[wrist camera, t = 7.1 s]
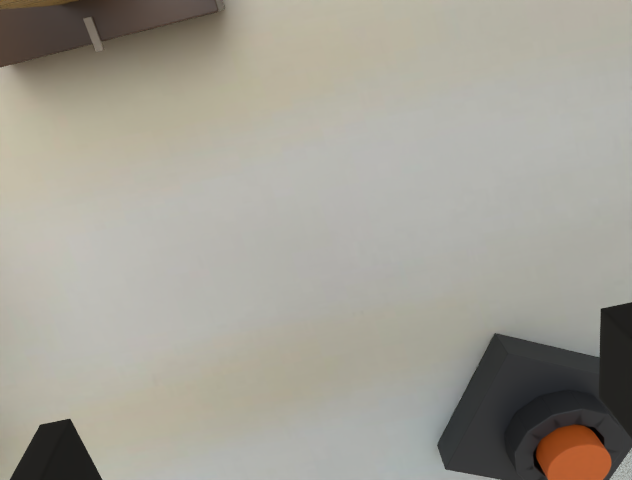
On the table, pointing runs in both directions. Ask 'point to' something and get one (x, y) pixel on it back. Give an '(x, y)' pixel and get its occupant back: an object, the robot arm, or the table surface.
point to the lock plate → (87, 24)
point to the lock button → (573, 454)
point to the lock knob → (31, 3)
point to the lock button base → (526, 410)
